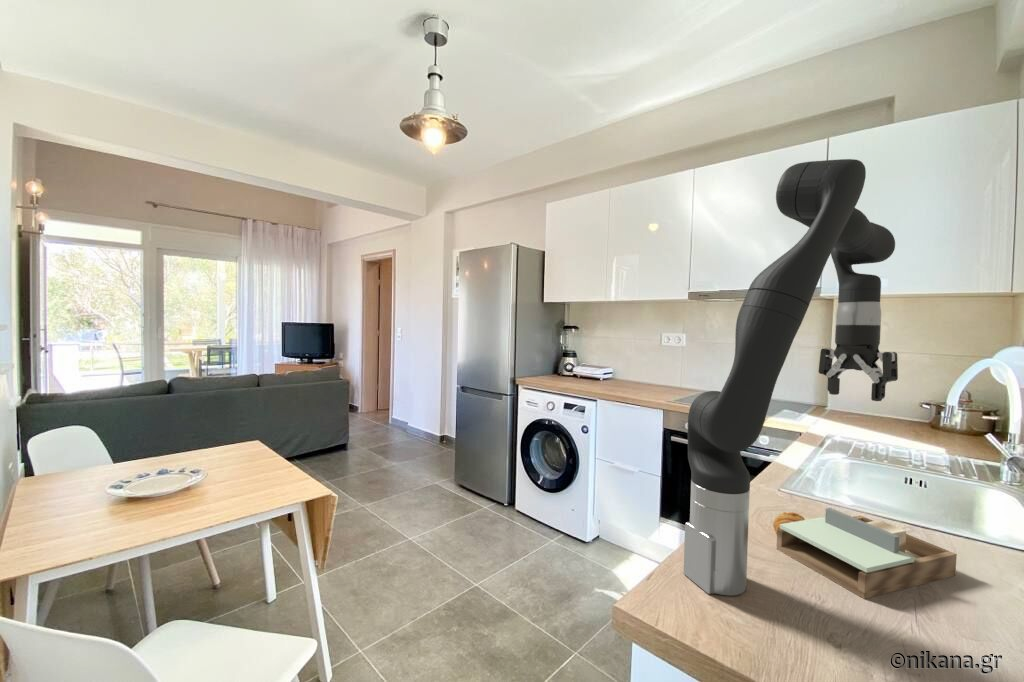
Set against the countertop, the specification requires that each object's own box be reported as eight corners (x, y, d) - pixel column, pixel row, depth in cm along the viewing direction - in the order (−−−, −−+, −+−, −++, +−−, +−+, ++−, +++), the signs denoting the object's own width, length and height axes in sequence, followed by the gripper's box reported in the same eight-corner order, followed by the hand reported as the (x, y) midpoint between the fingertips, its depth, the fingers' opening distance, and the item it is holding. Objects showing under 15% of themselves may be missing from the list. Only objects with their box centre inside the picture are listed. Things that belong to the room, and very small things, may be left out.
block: (904, 555, 80) (906, 530, 80) (889, 559, 78) (890, 533, 78) (878, 544, 84) (879, 520, 84) (862, 547, 83) (864, 522, 83)
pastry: (807, 549, 84) (808, 531, 84) (769, 538, 88) (769, 521, 88) (810, 532, 91) (811, 515, 91) (775, 523, 96) (775, 506, 95)
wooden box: (864, 598, 68) (865, 575, 68) (776, 548, 84) (777, 529, 84) (955, 575, 76) (956, 554, 75) (859, 533, 91) (860, 515, 91)
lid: (866, 572, 69) (867, 551, 68) (779, 528, 84) (780, 510, 83) (914, 561, 72) (915, 541, 72) (822, 520, 87) (823, 503, 87)
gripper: (908, 323, 84) (905, 402, 84) (835, 323, 98) (832, 391, 98) (883, 323, 82) (879, 404, 82) (812, 323, 95) (809, 392, 96)
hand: (854, 397), depth 90 cm, fingers open, 8 cm apart
